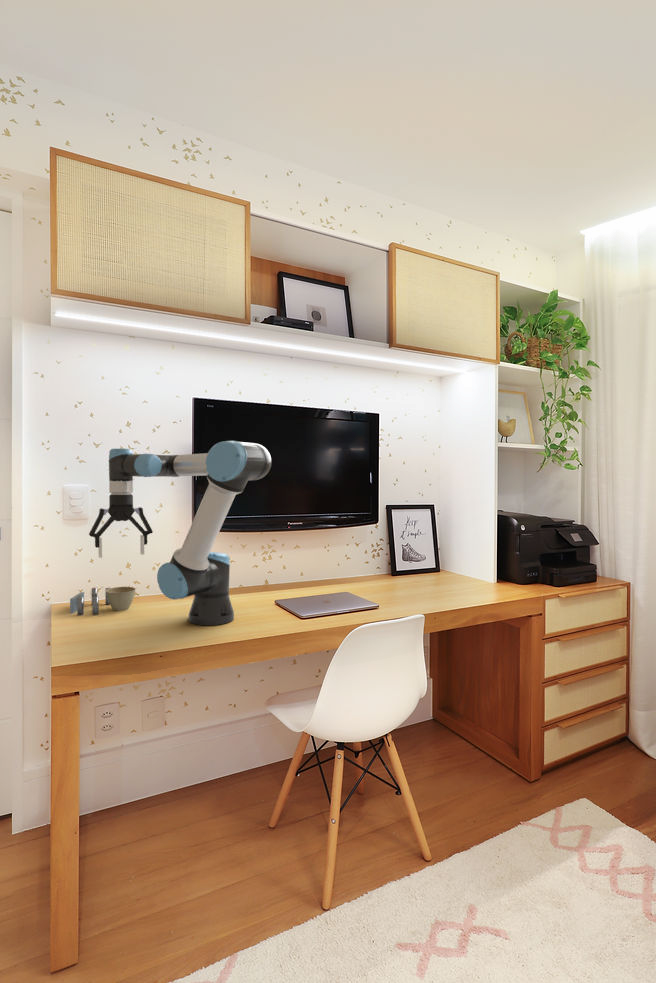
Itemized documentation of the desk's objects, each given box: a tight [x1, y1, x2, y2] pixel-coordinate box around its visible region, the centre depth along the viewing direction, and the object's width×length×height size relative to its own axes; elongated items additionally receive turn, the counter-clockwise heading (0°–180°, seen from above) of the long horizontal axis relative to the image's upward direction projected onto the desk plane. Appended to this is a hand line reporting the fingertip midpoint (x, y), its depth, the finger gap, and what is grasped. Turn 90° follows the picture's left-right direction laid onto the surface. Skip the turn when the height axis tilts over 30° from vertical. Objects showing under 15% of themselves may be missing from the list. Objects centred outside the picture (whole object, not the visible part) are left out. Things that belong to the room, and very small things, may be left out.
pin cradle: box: [69, 587, 111, 616], centre depth 189 cm, size 10×16×6 cm, turn 6°
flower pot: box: [106, 586, 136, 612], centre depth 190 cm, size 10×10×7 cm
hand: (121, 555), depth 180 cm, fingers open, 13 cm apart
